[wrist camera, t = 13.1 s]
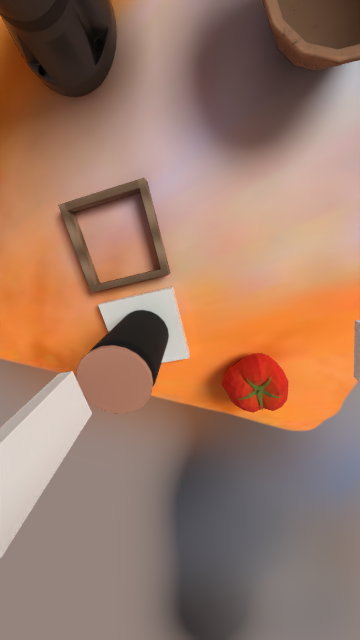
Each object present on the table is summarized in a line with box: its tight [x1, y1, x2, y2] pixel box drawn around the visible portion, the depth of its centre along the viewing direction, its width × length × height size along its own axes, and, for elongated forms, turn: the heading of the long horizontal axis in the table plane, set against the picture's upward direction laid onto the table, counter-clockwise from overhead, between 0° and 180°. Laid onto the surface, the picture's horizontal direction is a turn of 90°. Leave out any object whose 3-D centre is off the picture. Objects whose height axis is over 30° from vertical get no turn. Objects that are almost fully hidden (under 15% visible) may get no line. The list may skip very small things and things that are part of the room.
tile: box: [98, 286, 190, 363], centre depth 47 cm, size 16×16×2 cm
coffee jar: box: [76, 310, 169, 414], centre depth 37 cm, size 11×11×18 cm
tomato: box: [222, 353, 288, 412], centre depth 45 cm, size 14×13×9 cm
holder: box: [58, 178, 170, 293], centre depth 41 cm, size 16×16×2 cm
